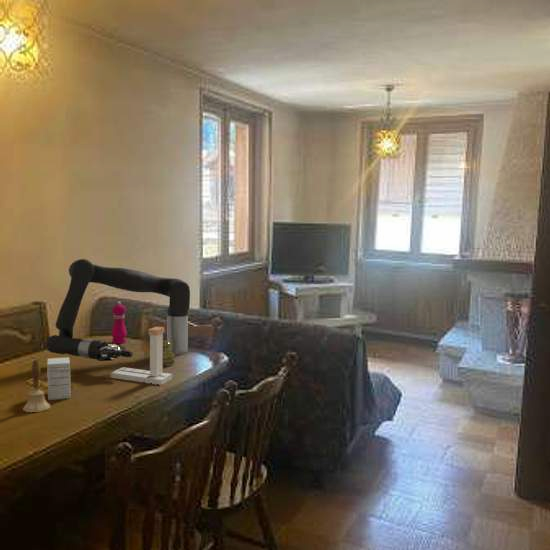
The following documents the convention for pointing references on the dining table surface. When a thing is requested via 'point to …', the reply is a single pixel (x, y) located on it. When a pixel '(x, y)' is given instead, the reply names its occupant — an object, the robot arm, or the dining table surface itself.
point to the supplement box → (58, 378)
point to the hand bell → (36, 393)
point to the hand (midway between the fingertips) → (131, 354)
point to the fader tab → (156, 350)
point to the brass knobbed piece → (168, 354)
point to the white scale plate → (140, 376)
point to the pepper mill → (119, 325)
